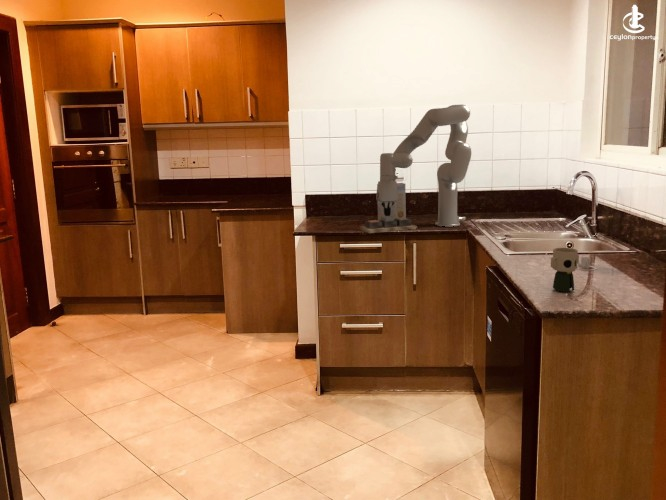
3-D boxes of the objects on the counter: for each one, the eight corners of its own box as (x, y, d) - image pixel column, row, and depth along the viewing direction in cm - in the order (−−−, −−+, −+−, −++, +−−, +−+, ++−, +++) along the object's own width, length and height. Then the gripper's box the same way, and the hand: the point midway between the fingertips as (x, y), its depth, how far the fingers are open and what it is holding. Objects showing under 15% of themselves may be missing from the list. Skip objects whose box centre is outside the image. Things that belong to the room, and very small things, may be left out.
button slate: (390, 222, 315) (390, 216, 314) (394, 223, 311) (394, 217, 310) (382, 223, 313) (382, 217, 313) (386, 224, 309) (385, 218, 309)
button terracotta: (375, 225, 312) (375, 220, 312) (379, 227, 308) (379, 221, 308) (367, 226, 311) (367, 220, 310) (371, 227, 307) (371, 221, 306)
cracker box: (401, 221, 336) (401, 182, 332) (406, 223, 331) (406, 183, 326) (377, 223, 333) (376, 183, 329) (381, 224, 327) (380, 184, 323)
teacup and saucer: (578, 265, 230) (578, 254, 229) (600, 267, 225) (601, 256, 224) (569, 269, 223) (570, 258, 222) (592, 272, 218) (593, 261, 217)
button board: (406, 225, 323) (406, 216, 322) (417, 228, 311) (417, 220, 311) (359, 229, 314) (359, 220, 313) (369, 233, 303) (368, 224, 302)
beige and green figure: (558, 295, 189) (560, 253, 187) (541, 290, 196) (543, 249, 193) (585, 291, 194) (587, 249, 191) (568, 285, 200) (570, 246, 197)
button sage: (404, 223, 318) (404, 217, 317) (408, 224, 314) (408, 218, 313) (396, 224, 316) (396, 218, 316) (400, 225, 312) (400, 219, 312)
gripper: (398, 177, 314) (397, 213, 317) (370, 178, 309) (370, 215, 312) (404, 178, 307) (404, 215, 310) (376, 179, 302) (376, 217, 305)
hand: (387, 215), depth 311 cm, fingers closed
